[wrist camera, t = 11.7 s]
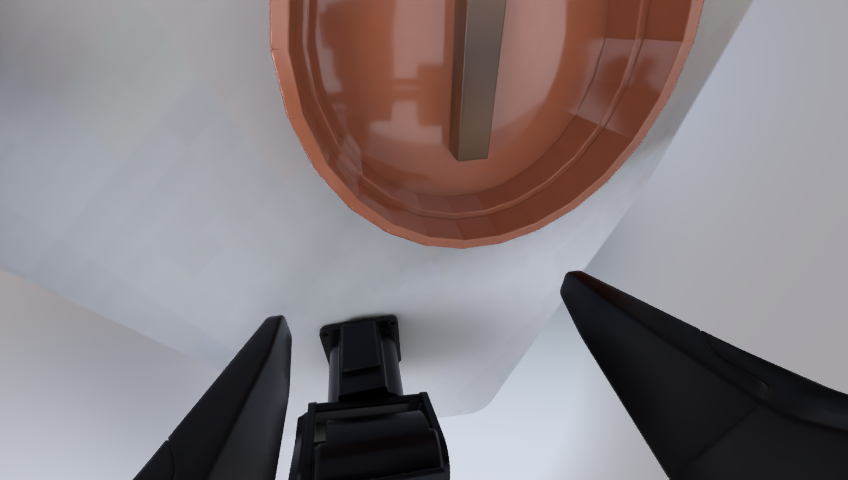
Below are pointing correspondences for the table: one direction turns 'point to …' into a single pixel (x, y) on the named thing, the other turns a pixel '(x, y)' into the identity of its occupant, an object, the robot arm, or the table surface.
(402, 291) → the table surface
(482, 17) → the brown long rectangular block
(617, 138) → the bowl
